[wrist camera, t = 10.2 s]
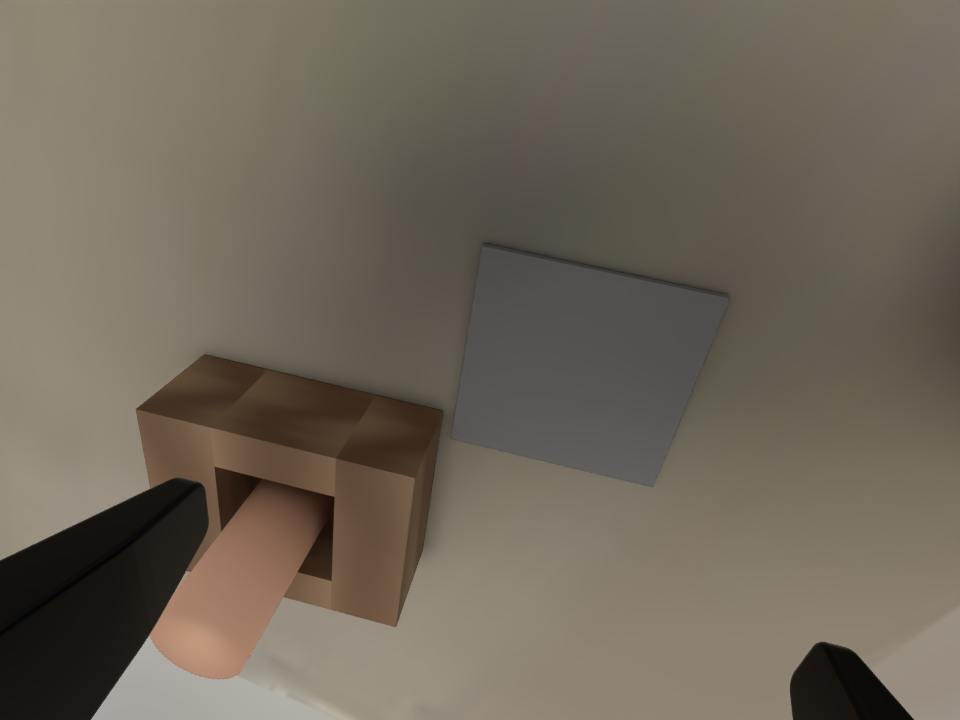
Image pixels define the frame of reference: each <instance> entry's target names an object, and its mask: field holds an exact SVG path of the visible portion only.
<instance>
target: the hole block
mask: <svg viewBox="0 0 960 720" xmlns="http://www.w3.org/2000/svg"><path fill="white" fill-rule="evenodd" d="M136 413H137V419H138V424H139V430H140V435H141V440H142V446H143V451H144V457H145V462H146V468H147V473H148V479H149V484H150V489H151V488H153V487H155V486H157V485H159V484H161V483H163V482H165V481H168V480H170V479H172V478H177V477H180V478H185V479H189V480H193V481H197V482H200V483H202V484H203V486H204V487H205V490H206V499H207V507H208V516H209V527H208V531H207V533H206V536H205V538H204V540H203V542H202V543H201V545H200V547H199V549H198V551H197V552H196V554H195V556H194V558H193V559H192V561H191V563H190V565H189V567H188V568H187V570H186V571H189V572H191V571H192V569H193V568H194V567H195V566H196V564H197V563H198V562H199V560H200V559H201V558H202V556H203V555H204V554H205V552H206V551H207V550H208V549H209V547H210V546H211V545H212V543H213V542H214V541H215V539H216V538H217V537H218V536H219V534H220V533H221V532H222V530H223V529H224V528H225V526H226V525H227V524H228V523H229V521H230V520H231V519H232V517H233V516H234V515H235V513H236V512H237V511H238V510H239V508H240V507H241V506H242V504H243V503H244V502H245V500H246V499H247V498H248V496H249V495H250V494H251V493H252V491H253V490H254V489H255V487H256V486H257V485H258V483H259V482H260V481H261V480H262V479H266V480H270V481H274V482H278V483H282V484H286V485H290V486H294V487H298V488H302V489H305V490H309V491H313V492H317V493H321V494H325V495H329V496H333V497H335V498H334V509H333V510H332V512H331V514H330V516H329V517H328V519H327V521H326V523H325V524H324V526H323V528H322V530H321V531H320V533H319V535H318V537H317V538H316V540H315V542H314V544H313V546H312V547H311V549H310V551H309V553H308V554H307V556H306V558H305V560H304V561H303V563H302V565H301V567H300V568H299V570H298V572H297V574H296V575H295V577H294V579H293V581H292V582H291V584H290V586H289V588H288V589H287V591H286V593H285V595H284V596H283V597H286V598H289V599H293V600H297V601H301V602H304V603H308V604H312V605H315V606H319V607H323V608H327V609H330V610H334V611H338V612H341V613H345V614H349V615H353V616H356V617H360V618H364V619H367V620H371V621H375V622H379V623H382V624H386V625H390V626H393V627H396V626H397V623H398V620H399V617H400V614H401V611H402V608H403V605H404V603H405V600H406V597H407V594H408V591H409V588H410V585H411V582H412V580H413V577H414V574H415V571H416V568H417V565H418V562H419V559H420V557H421V554H422V550H423V544H424V537H425V530H426V524H427V517H428V510H429V503H430V497H431V490H432V483H433V477H434V470H435V463H436V456H437V450H438V443H439V436H440V430H441V423H442V416H443V411H440V410H436V409H432V408H428V407H423V406H419V405H415V404H411V403H407V402H402V401H398V400H394V399H390V398H385V397H381V396H377V395H373V394H368V393H364V392H360V391H356V390H352V389H347V388H343V387H339V386H335V385H330V384H326V383H322V382H318V381H313V380H309V379H305V378H301V377H297V376H292V375H288V374H284V373H280V372H275V371H271V370H267V369H263V368H258V367H254V366H250V365H246V364H242V363H237V362H233V361H229V360H225V359H220V358H216V357H212V356H208V355H203V356H202V357H200V358H199V359H198V360H197V361H195V362H194V363H193V364H192V365H190V366H189V367H188V368H187V369H185V370H184V371H183V372H182V373H180V374H179V375H178V376H177V377H175V378H174V379H173V380H172V381H170V382H169V383H168V384H167V385H165V386H164V387H163V388H162V389H160V390H159V391H158V392H157V393H155V394H154V395H153V396H152V397H150V398H149V399H148V400H147V401H145V402H144V403H143V404H142V405H141V406H139V407H138V408H137V409H136Z"/></svg>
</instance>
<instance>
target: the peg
mask: <svg viewBox="0 0 960 720" xmlns="http://www.w3.org/2000/svg"><path fill="white" fill-rule="evenodd" d="M334 498H335V497H333V496H329V495H325V494H321V493H317V492H313V491H309V490H305V489H302V488H298V487H294V486H290V485H286V484H282V483H278V482H274V481H270V480H266V479H262V480H261V481H260V482H259V483H258V485H257V486H256V487H255V489H254V490H253V491H252V493H251V494H250V495H249V496H248V498H247V499H246V500H245V502H244V503H243V504H242V506H241V507H240V508H239V510H238V511H237V512H236V513H235V515H234V516H233V517H232V519H231V520H230V521H229V523H228V524H227V525H226V526H225V528H224V529H223V530H222V532H221V533H220V534H219V536H218V537H217V538H216V539H215V541H214V542H213V543H212V545H211V546H210V547H209V549H208V550H207V551H206V552H205V554H204V555H203V556H202V558H201V559H200V560H199V562H198V563H197V564H196V566H195V567H194V568H193V569H192V571H191V572H190V573H189V575H188V576H187V577H186V579H185V580H184V581H183V582H182V584H181V585H180V586H179V588H178V589H177V590H176V592H175V593H174V594H173V595H172V597H171V599H170V601H169V602H168V604H167V606H166V608H165V610H164V611H163V613H162V615H161V617H160V618H159V620H158V622H157V623H156V625H155V627H154V628H153V630H152V632H151V633H150V636H151V639H152V641H153V643H154V645H155V646H156V648H157V649H158V650H159V651H160V652H161V653H162V654H163V655H164V656H165V657H166V658H167V659H168V660H170V661H171V662H172V663H174V664H175V665H177V666H178V667H180V668H182V669H184V670H186V671H188V672H190V673H192V674H195V675H198V676H201V677H205V678H210V679H228V678H232V677H234V676H236V675H238V674H239V673H240V672H241V670H242V669H243V667H244V665H245V663H246V662H247V660H248V658H249V656H250V654H251V653H252V651H253V649H254V647H255V646H256V644H257V642H258V640H259V639H260V637H261V635H262V633H263V632H264V630H265V628H266V626H267V625H268V623H269V621H270V619H271V618H272V616H273V614H274V612H275V611H276V609H277V607H278V605H279V604H280V602H281V600H282V598H283V596H284V595H285V593H286V591H287V589H288V588H289V586H290V584H291V582H292V581H293V579H294V577H295V575H296V574H297V572H298V570H299V568H300V567H301V565H302V563H303V561H304V560H305V558H306V556H307V554H308V553H309V551H310V549H311V547H312V546H313V544H314V542H315V540H316V538H317V537H318V535H319V533H320V531H321V530H322V528H323V526H324V524H325V523H326V521H327V519H328V517H329V516H330V514H331V512H332V510H333V509H334Z"/></svg>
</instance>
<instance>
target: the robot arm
mask: <svg viewBox="0 0 960 720" xmlns="http://www.w3.org/2000/svg"><path fill="white" fill-rule="evenodd" d="M208 527H209V516H208V507H207V499H206V490H205V487H204V486H203V484H202V483H200V482H197V481H193V480H189V479H185V478H180V477H177V478H172V479H170V480H168V481H165V482H163V483H161V484H159V485H157V486H155V487H153V488H151V489H149V490H147V491H145V492H142V493H140V494H138V495H136V496H134V497H132V498H130V499H128V500H126V501H124V502H122V503H119V504H117V505H115V506H113V507H111V508H109V509H107V510H105V511H103V512H101V513H99V514H96V515H94V516H92V517H90V518H88V519H86V520H84V521H82V522H80V523H78V524H76V525H73V526H71V527H69V528H67V529H65V530H63V531H61V532H59V533H57V534H55V535H53V536H50V537H48V538H46V539H44V540H42V541H40V542H38V543H36V544H34V545H32V546H30V547H27V548H25V549H23V550H21V551H19V552H17V553H15V554H13V555H11V556H9V557H6V558H4V559H2V560H0V720H91V719H92V717H93V716H94V714H95V713H96V712H97V710H98V709H99V707H100V706H101V704H102V703H103V701H104V700H105V699H106V697H107V696H108V694H109V693H110V691H111V690H112V689H113V687H114V686H115V684H116V683H117V681H118V680H119V678H120V677H121V676H122V674H123V673H124V671H125V670H126V668H127V667H128V666H129V664H130V663H131V661H132V660H133V658H134V657H135V656H136V654H137V652H138V651H139V650H140V648H141V647H142V645H143V644H144V642H145V641H146V639H147V638H148V636H149V635H150V633H151V632H152V630H153V628H154V627H155V625H156V623H157V622H158V620H159V618H160V617H161V615H162V613H163V611H164V610H165V608H166V606H167V604H168V602H169V601H170V599H171V597H172V595H173V593H174V592H175V590H176V588H177V586H178V585H179V583H180V581H181V579H182V577H183V576H184V574H185V572H186V570H187V568H188V567H189V565H190V563H191V561H192V559H193V558H194V556H195V554H196V552H197V551H198V549H199V547H200V545H201V543H202V542H203V540H204V538H205V536H206V533H207V531H208ZM790 697H791V706H792V716H793V720H914V719H913V718H912V717H911V716H910V715H909V713H908V712H907V711H906V710H905V709H904V708H903V707H902V705H901V704H900V703H899V702H898V701H897V700H896V698H894V696H893V695H892V694H891V693H890V692H889V690H888V689H887V688H886V687H885V686H884V685H883V684H882V683H881V681H880V680H879V679H878V678H877V677H876V676H875V674H874V673H873V672H872V671H871V670H870V669H869V668H868V666H867V665H866V664H865V663H864V662H863V661H862V660H861V658H860V657H859V656H858V655H857V654H856V653H855V652H853V651H852V650H850V649H848V648H846V647H842V646H838V645H834V644H831V643H827V642H819V643H817V644H815V645H814V646H813V647H812V649H811V650H810V651H809V653H808V654H807V655H806V657H805V658H804V660H803V661H802V662H801V664H800V665H799V666H798V668H797V669H796V670H795V672H794V673H793V676H792V678H791V683H790Z"/></svg>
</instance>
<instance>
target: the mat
mask: <svg viewBox="0 0 960 720" xmlns="http://www.w3.org/2000/svg"><path fill="white" fill-rule="evenodd" d="M729 300H730V297H729V295H726V294H721V293H717V292H712V291H707V290H702V289H698V288H693V287H688V286H683V285H679V284H674V283H669V282H664V281H660V280H655V279H650V278H646V277H641V276H636V275H631V274H627V273H622V272H617V271H612V270H608V269H603V268H598V267H593V266H589V265H584V264H579V263H574V262H570V261H565V260H560V259H556V258H551V257H546V256H541V255H537V254H532V253H527V252H522V251H518V250H513V249H508V248H503V247H499V246H494V245H489V244H485V243H483V245H482V248H481V255H480V261H479V267H478V273H477V279H476V285H475V292H474V298H473V304H472V310H471V316H470V322H469V329H468V335H467V341H466V347H465V353H464V360H463V366H462V372H461V378H460V384H459V390H458V397H457V403H456V409H455V415H454V421H453V428H452V434H451V439H454V440H458V441H462V442H466V443H471V444H475V445H479V446H483V447H487V448H491V449H496V450H500V451H504V452H508V453H512V454H516V455H521V456H525V457H529V458H533V459H537V460H541V461H546V462H550V463H554V464H558V465H562V466H566V467H570V468H575V469H579V470H583V471H587V472H591V473H595V474H600V475H604V476H608V477H612V478H616V479H620V480H625V481H629V482H633V483H637V484H641V485H645V486H650V487H653V486H654V483H655V481H656V479H657V476H658V474H659V471H660V469H661V466H662V464H663V461H664V459H665V457H666V454H667V452H668V449H669V447H670V444H671V442H672V439H673V437H674V435H675V432H676V430H677V427H678V425H679V422H680V420H681V418H682V415H683V413H684V410H685V408H686V405H687V403H688V400H689V398H690V396H691V393H692V391H693V388H694V386H695V383H696V381H697V378H698V376H699V374H700V371H701V369H702V366H703V364H704V361H705V359H706V356H707V354H708V352H709V349H710V347H711V344H712V342H713V339H714V337H715V335H716V332H717V330H718V327H719V325H720V322H721V320H722V317H723V315H724V313H725V310H726V308H727V305H728V303H729Z"/></svg>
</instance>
